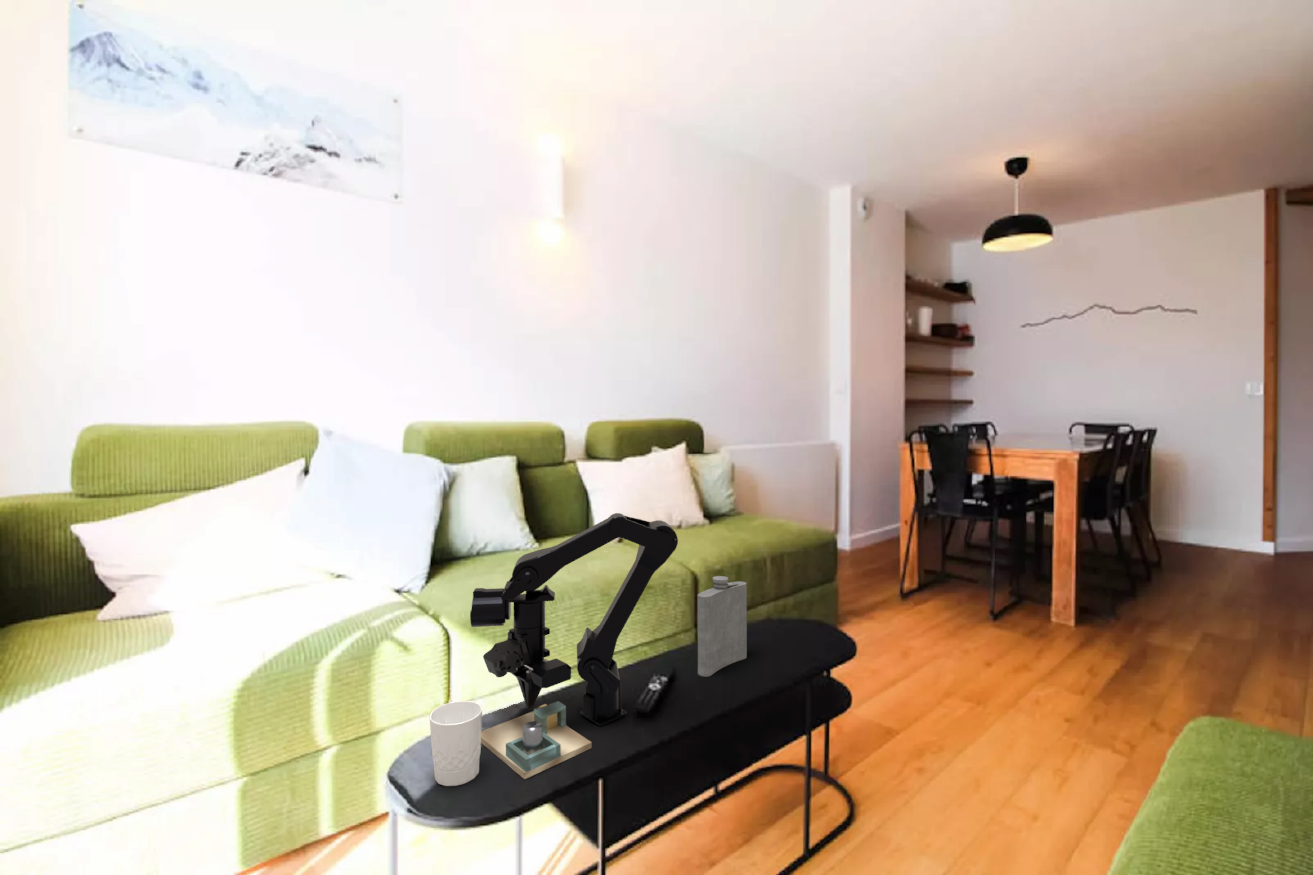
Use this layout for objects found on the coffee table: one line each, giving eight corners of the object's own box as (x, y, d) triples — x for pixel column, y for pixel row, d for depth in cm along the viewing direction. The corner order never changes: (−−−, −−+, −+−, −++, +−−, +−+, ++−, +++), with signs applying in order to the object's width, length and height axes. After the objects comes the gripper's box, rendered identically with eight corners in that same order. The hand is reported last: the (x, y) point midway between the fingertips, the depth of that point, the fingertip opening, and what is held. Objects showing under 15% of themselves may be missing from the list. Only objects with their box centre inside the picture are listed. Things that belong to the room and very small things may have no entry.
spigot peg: (536, 748, 101) (535, 719, 101) (546, 756, 98) (546, 726, 98) (519, 756, 99) (518, 726, 98) (529, 764, 96) (529, 733, 96)
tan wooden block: (545, 718, 111) (545, 703, 111) (557, 726, 108) (557, 711, 108) (534, 722, 109) (534, 708, 109) (546, 731, 106) (546, 716, 106)
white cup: (488, 759, 100) (487, 699, 99) (475, 788, 92) (474, 724, 91) (440, 760, 99) (439, 700, 99) (423, 790, 91) (422, 725, 91)
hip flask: (706, 678, 130) (705, 586, 129) (691, 672, 133) (691, 582, 132) (749, 656, 141) (749, 572, 141) (735, 652, 144) (735, 569, 144)
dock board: (540, 713, 115) (539, 690, 115) (591, 748, 103) (591, 721, 103) (476, 738, 106) (475, 713, 106) (524, 779, 94) (524, 750, 94)
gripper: (465, 621, 113) (465, 703, 113) (517, 649, 99) (518, 742, 100) (517, 608, 120) (517, 685, 121) (572, 632, 107) (573, 718, 108)
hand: (529, 706), depth 112 cm, fingers closed
